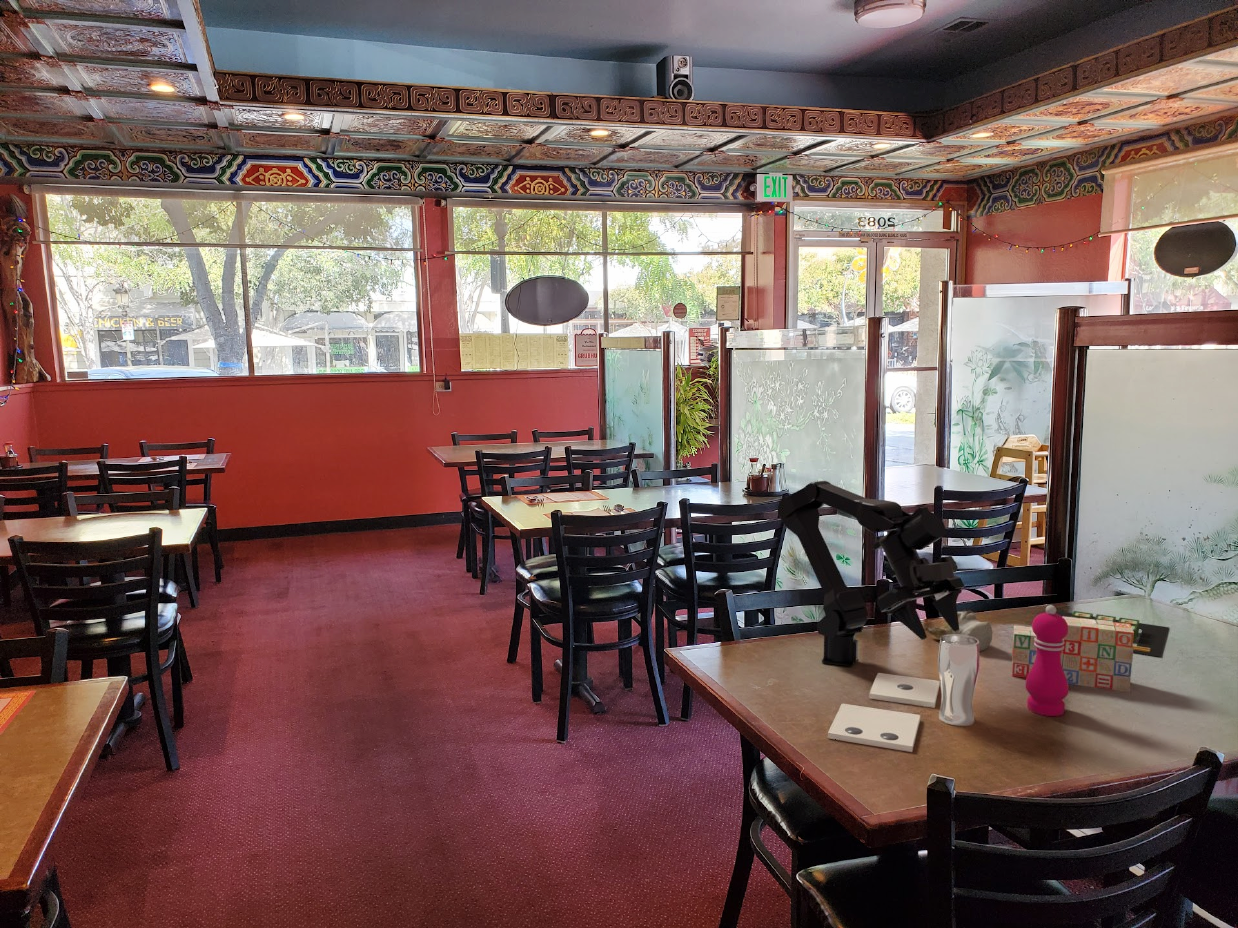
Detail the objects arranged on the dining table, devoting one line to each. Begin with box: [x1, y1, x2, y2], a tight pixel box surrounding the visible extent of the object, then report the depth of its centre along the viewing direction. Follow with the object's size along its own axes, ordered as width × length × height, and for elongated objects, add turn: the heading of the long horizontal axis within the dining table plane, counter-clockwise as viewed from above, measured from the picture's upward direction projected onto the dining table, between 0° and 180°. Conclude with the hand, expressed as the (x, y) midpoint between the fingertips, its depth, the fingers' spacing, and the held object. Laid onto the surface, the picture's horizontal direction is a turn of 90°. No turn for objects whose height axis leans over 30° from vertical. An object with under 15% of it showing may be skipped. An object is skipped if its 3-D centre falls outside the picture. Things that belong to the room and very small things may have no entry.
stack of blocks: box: [1011, 617, 1134, 692], centre depth 180 cm, size 21×6×12 cm, turn 66°
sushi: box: [1055, 610, 1170, 659], centre depth 210 cm, size 25×25×4 cm
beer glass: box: [937, 634, 981, 727], centre depth 161 cm, size 7×7×15 cm
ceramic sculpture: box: [924, 608, 994, 652], centre depth 203 cm, size 11×9×15 cm
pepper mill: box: [1024, 604, 1070, 717], centre depth 164 cm, size 7×7×20 cm
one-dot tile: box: [868, 672, 941, 709], centre depth 175 cm, size 12×12×1 cm
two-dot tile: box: [827, 703, 921, 753], centre depth 158 cm, size 14×14×1 cm
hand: (941, 634), depth 169 cm, fingers open, 9 cm apart
